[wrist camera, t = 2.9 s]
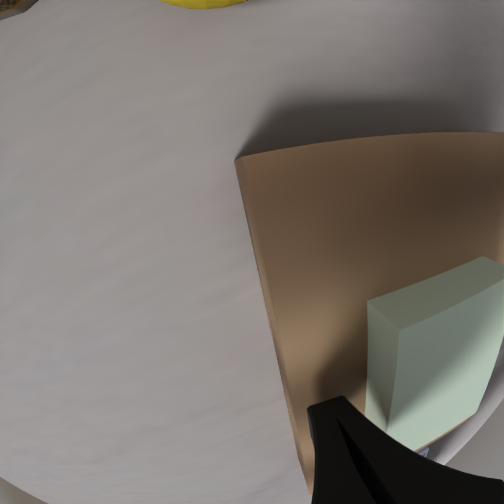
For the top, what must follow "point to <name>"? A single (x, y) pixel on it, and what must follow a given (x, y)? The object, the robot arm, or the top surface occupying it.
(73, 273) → the top surface
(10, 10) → the ceramic cup
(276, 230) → the board
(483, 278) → the tile
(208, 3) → the lemon
